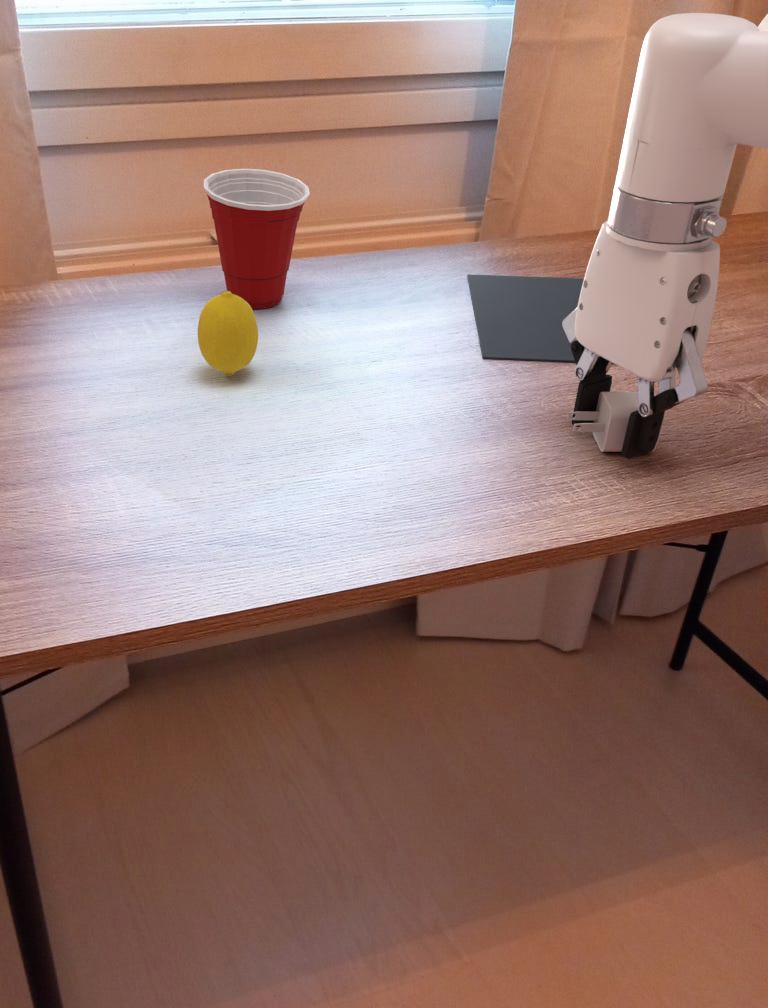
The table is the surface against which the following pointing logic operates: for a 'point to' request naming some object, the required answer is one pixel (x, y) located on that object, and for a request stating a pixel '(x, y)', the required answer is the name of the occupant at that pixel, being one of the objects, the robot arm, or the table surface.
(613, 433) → the usb wall charger
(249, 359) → the lemon
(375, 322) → the table surface
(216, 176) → the plastic cup
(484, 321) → the mat
